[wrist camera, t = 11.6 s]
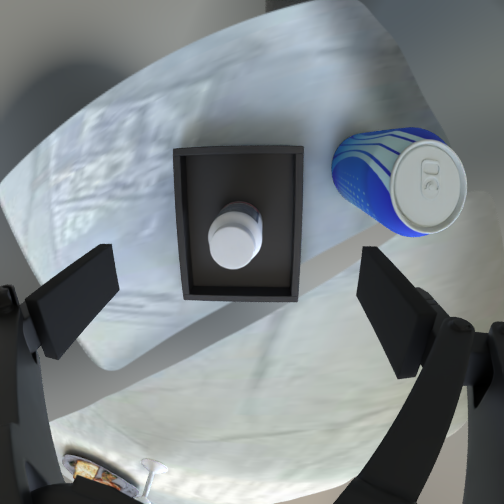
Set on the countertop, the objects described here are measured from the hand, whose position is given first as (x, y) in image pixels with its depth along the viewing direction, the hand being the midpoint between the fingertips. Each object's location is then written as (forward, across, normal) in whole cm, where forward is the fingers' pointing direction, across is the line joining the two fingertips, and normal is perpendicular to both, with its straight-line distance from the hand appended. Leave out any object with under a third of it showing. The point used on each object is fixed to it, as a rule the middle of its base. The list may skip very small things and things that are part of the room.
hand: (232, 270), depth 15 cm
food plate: (+20, -44, -75) cm, 89 cm away
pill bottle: (+20, -1, -3) cm, 21 cm away
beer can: (+21, +13, +4) cm, 25 cm away
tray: (+21, -1, -3) cm, 21 cm away
